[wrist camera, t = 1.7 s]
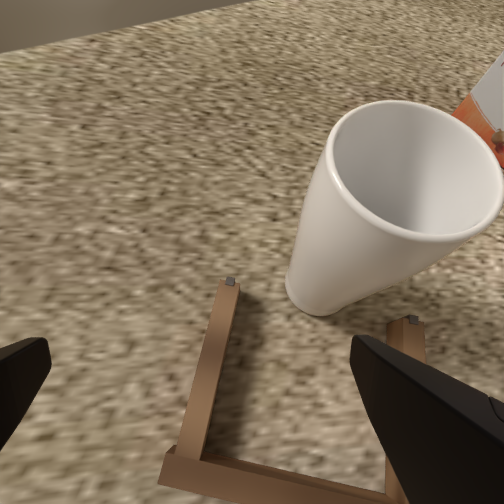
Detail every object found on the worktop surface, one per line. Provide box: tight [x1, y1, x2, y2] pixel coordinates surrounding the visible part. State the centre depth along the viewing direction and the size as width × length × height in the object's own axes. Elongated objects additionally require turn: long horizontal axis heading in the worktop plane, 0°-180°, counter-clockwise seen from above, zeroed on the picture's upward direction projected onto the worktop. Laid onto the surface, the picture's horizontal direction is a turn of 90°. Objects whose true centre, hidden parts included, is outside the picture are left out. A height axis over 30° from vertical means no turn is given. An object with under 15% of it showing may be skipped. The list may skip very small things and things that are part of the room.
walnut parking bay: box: [158, 277, 426, 504], centre depth 20 cm, size 13×16×3 cm
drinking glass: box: [285, 100, 504, 316], centre depth 18 cm, size 7×7×15 cm
